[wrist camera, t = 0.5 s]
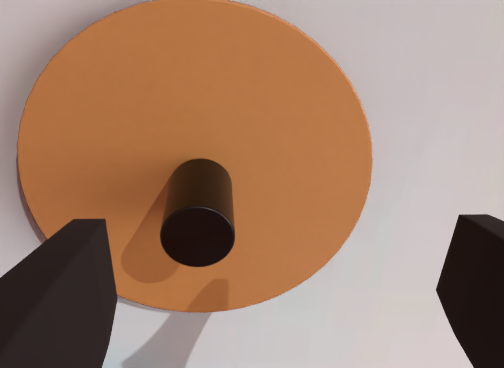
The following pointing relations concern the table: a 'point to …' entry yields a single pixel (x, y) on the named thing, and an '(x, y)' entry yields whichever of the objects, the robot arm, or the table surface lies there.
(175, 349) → the table surface
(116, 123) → the lid
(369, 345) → the table surface
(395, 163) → the table surface
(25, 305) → the robot arm
